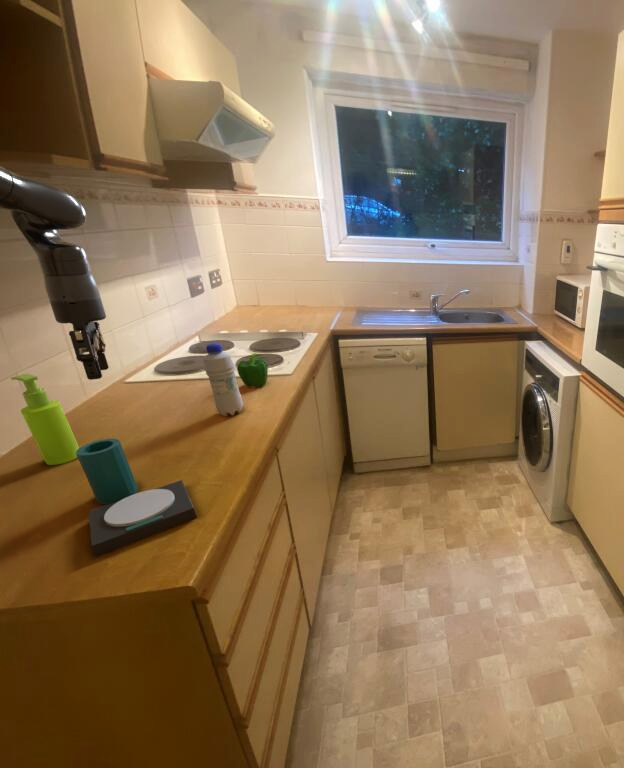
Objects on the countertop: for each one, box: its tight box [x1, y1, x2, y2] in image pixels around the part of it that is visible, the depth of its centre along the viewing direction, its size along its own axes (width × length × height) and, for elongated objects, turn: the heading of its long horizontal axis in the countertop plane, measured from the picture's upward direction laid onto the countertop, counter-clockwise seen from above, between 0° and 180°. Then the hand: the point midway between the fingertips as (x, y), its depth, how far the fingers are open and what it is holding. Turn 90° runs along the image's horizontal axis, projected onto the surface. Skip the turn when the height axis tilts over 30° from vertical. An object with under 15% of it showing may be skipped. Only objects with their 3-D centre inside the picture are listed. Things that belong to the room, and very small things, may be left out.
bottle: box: [203, 342, 244, 417], centre depth 117 cm, size 7×7×20 cm
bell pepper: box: [237, 352, 269, 388], centre depth 137 cm, size 8×8×10 cm
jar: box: [76, 438, 139, 505], centre depth 84 cm, size 6×6×11 cm
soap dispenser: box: [10, 373, 80, 466], centre depth 95 cm, size 6×7×20 cm
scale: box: [88, 479, 198, 557], centre depth 79 cm, size 14×12×3 cm
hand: (99, 374), depth 93 cm, fingers open, 8 cm apart
